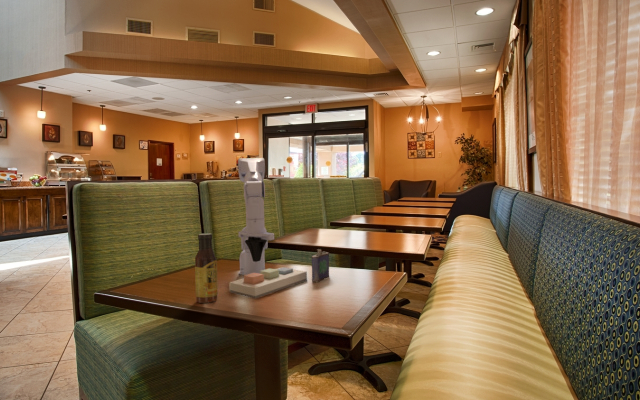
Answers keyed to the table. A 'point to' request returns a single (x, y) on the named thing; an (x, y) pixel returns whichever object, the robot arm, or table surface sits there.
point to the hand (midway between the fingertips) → (256, 261)
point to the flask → (320, 266)
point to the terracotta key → (253, 278)
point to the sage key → (270, 273)
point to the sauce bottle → (206, 270)
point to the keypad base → (267, 284)
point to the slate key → (285, 270)
